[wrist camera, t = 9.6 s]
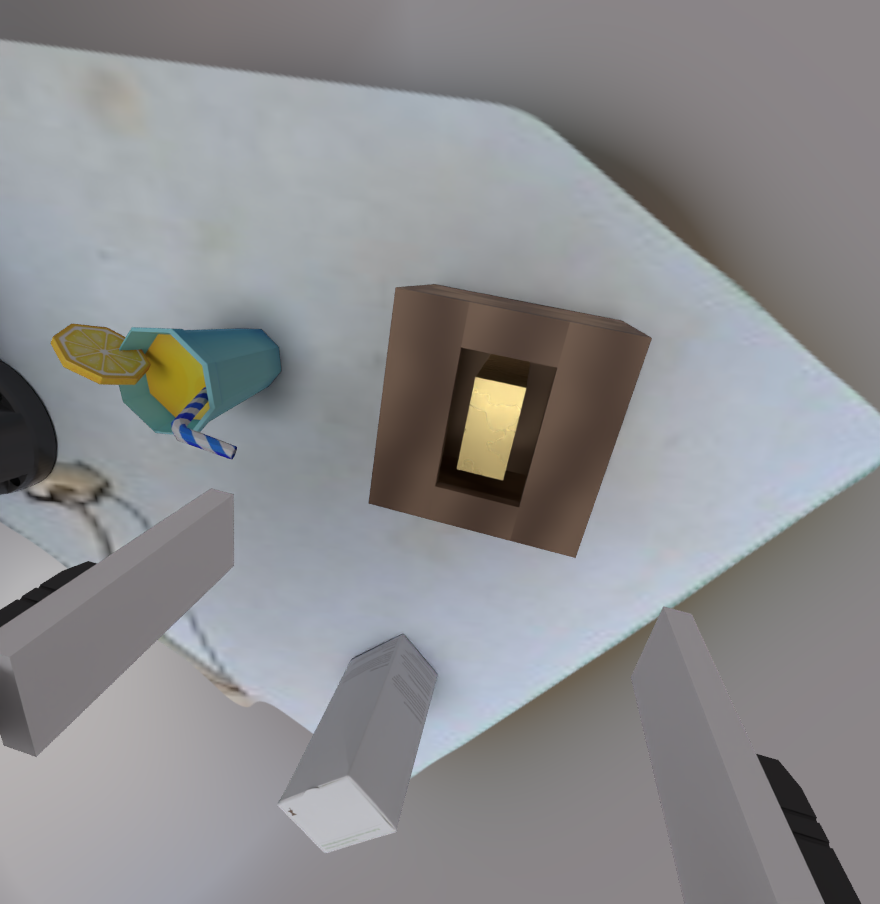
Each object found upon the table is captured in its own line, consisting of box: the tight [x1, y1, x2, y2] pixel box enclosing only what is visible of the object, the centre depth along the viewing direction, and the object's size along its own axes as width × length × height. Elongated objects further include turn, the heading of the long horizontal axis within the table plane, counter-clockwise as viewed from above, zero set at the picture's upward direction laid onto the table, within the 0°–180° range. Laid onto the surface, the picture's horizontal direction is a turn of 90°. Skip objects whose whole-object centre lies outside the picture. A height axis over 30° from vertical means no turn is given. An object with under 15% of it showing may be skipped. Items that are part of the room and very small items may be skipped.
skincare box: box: [278, 634, 437, 853], centre depth 42 cm, size 8×7×16 cm
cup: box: [51, 324, 281, 459], centre depth 33 cm, size 14×8×15 cm, turn 67°
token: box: [457, 354, 530, 480], centre depth 32 cm, size 3×6×9 cm, turn 170°
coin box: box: [369, 284, 652, 558], centre depth 32 cm, size 14×14×10 cm
